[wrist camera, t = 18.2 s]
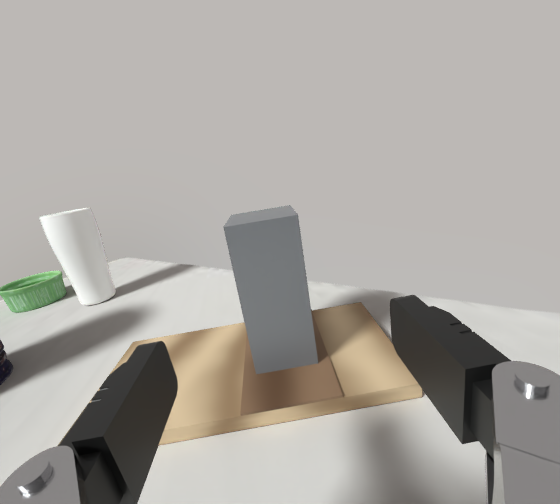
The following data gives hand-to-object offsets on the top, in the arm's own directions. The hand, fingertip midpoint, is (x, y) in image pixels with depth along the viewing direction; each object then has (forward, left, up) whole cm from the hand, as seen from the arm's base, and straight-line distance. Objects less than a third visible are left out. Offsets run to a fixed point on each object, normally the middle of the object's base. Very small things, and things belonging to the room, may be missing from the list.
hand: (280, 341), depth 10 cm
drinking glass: (+30, -36, -11) cm, 49 cm away
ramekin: (+43, -40, -11) cm, 60 cm away
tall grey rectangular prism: (0, -12, -9) cm, 16 cm away
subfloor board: (+4, -12, -11) cm, 17 cm away
